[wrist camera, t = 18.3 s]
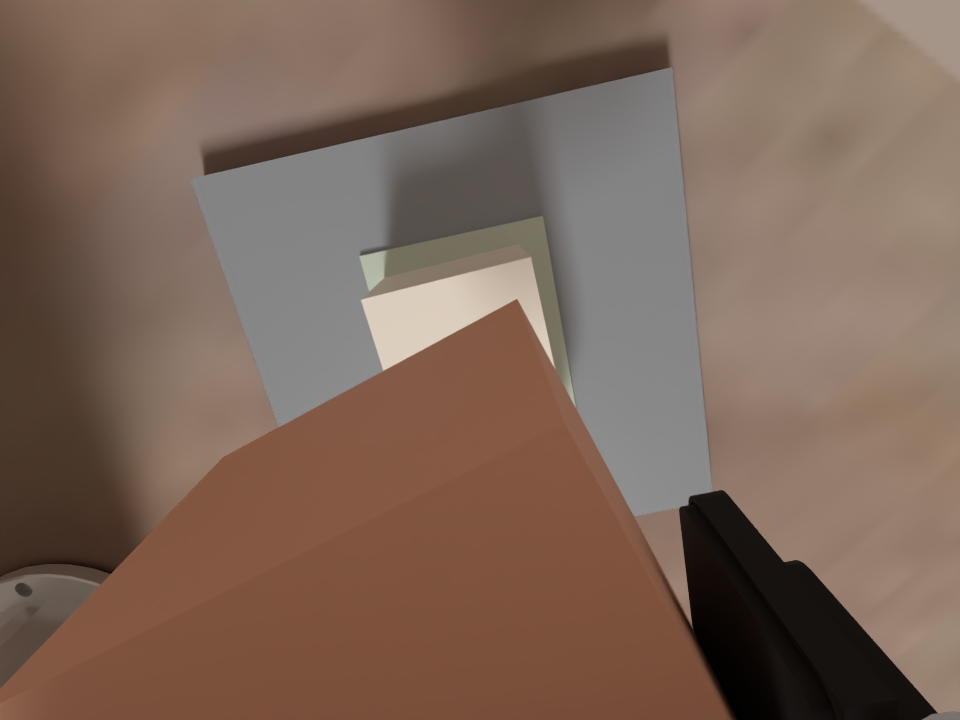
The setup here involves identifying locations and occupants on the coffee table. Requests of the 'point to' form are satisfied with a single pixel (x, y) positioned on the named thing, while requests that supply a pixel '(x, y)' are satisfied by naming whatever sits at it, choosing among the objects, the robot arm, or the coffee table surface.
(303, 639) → the terracotta block
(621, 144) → the build board
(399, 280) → the cream block
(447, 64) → the coffee table surface
